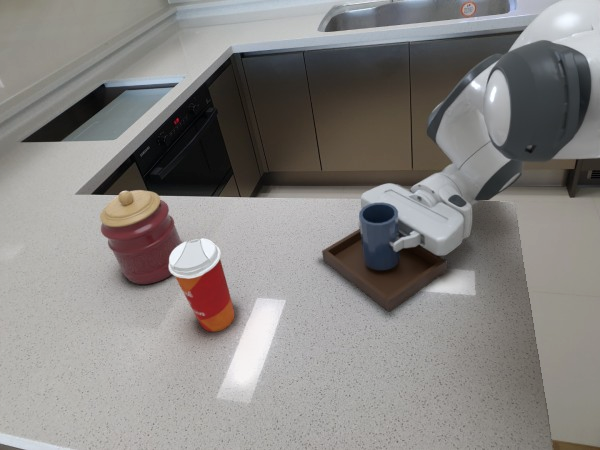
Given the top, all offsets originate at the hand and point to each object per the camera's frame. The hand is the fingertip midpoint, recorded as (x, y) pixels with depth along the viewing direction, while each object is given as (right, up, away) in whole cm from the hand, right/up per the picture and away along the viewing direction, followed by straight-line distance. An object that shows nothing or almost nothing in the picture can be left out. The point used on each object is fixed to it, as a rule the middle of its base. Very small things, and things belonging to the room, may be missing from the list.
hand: (376, 236), depth 79 cm
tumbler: (+2, -4, +4) cm, 6 cm away
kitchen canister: (-43, -6, +16) cm, 46 cm away
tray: (+2, -5, +5) cm, 7 cm away
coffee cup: (-27, -14, +1) cm, 31 cm away
